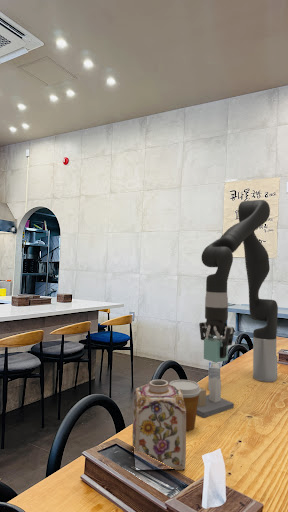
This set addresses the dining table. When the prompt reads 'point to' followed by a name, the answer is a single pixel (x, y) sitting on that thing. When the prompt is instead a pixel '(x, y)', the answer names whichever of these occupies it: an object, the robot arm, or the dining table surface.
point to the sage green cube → (213, 350)
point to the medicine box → (213, 371)
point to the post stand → (212, 400)
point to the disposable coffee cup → (189, 399)
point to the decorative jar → (160, 423)
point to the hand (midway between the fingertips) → (215, 355)
